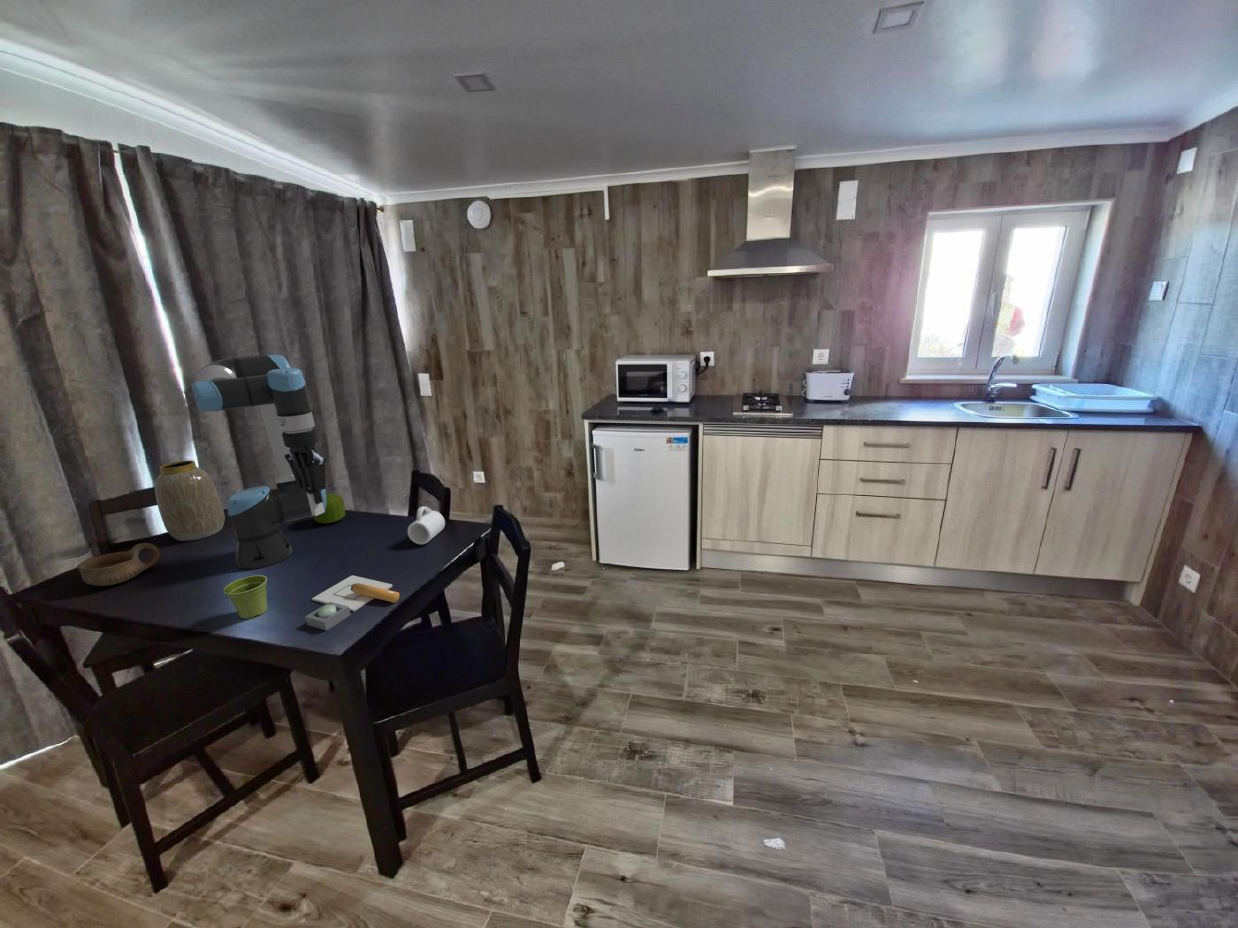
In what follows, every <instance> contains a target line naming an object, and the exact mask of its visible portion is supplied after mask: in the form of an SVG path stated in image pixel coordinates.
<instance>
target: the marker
mask: <svg viewBox="0 0 1238 928" xmlns="http://www.w3.org/2000/svg"><path fill="white" fill-rule="evenodd" d="M351 591H353V592H354V593H356V594H360V595H364V596H368V597H373V598H374V599H377V600H382V601H387V602H390V603H394V604H396V603H397V602H398V601H399V599H400V592H398V591H393V590H390V589H388V590H386V589H382V588H377V587H373V586H369V585H364V584H360V583H357V584H353V585H352V586H351Z"/></svg>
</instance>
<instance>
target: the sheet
mask: <svg viewBox="0 0 1238 928" xmlns="http://www.w3.org/2000/svg"><path fill="white" fill-rule="evenodd" d="M357 583H360V584H364V585H369V586H373V587H377V588H382V589H386V590H390V588H392V587H393V584H392V583H387V582H383V581H379V580H375V579H370V578H366V577H362V576H357V575H353V574H352V575H350V576H349V577H348V576H347V578H345V579H343V580H341V581H340V582H338V583H336V584H335V585H333V586H331V587H329V588H328V589H326V590H324V591H323V592H320V593H319V594H317V595H316V596H314V597H312V598H311V599H312V601H314V602H318V603H321V604H324V605H325V604H327V603H329V602H333V603H337V604H340V605H344V606H348V607H349V610H350V612H356V611H357V610H359V609H360V608H361V607H363V606H365V605H366V604H368V603H369V602H371V601H372V600H374V599H375V598H373V597H368V596H364V595H360V594H356V593H354V592H353V591H351V586H352V585H353V584H357Z"/></svg>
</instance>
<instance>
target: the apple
mask: <svg viewBox="0 0 1238 928" xmlns="http://www.w3.org/2000/svg"><path fill="white" fill-rule="evenodd" d="M345 516H346V510H345V500H344V498H343V497H342V496H341V495H339V494H337V493H326V509H325V512H324V513H322V514H319V515H317V516H314V515H313V516H312V517H313V519H314V520H315V522H318V523H320V524H326V525H327V524H332V523H337V522H338V521H341V520H342V519H343V518H344V517H345Z"/></svg>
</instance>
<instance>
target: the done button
mask: <svg viewBox="0 0 1238 928" xmlns="http://www.w3.org/2000/svg"><path fill="white" fill-rule="evenodd" d="M323 606H324V605H323ZM321 607H322V606H321ZM319 608H320V607H319ZM319 608H318V609H319ZM336 612H337V611H336V607H335V605H327V606H324V607H322V608H320V609H319V610H318V615H319V617H320V618H323V619H326V618H328V617H329V616H331V615H333V614H334V613H336Z"/></svg>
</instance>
